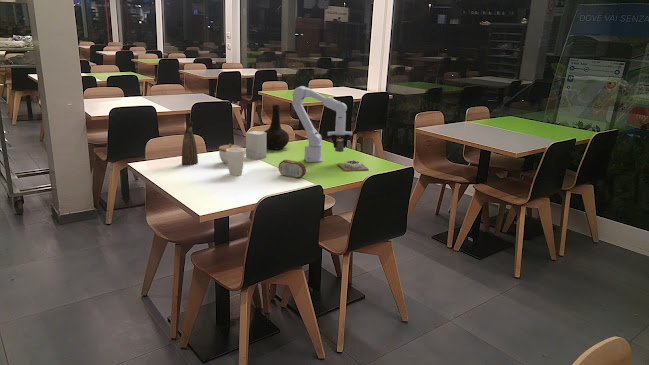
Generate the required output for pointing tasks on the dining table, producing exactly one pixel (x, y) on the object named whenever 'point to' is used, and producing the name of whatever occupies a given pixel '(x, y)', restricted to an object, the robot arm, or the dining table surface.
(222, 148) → the lidded bowl
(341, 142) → the dark grey cylinder peg
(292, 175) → the tin
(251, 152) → the supplement box
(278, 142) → the dark vase
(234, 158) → the foam cup
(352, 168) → the octagonal socket plate
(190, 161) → the statue
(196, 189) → the dining table surface
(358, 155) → the dining table surface
